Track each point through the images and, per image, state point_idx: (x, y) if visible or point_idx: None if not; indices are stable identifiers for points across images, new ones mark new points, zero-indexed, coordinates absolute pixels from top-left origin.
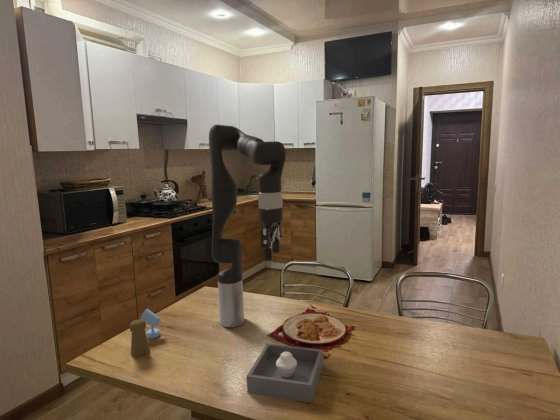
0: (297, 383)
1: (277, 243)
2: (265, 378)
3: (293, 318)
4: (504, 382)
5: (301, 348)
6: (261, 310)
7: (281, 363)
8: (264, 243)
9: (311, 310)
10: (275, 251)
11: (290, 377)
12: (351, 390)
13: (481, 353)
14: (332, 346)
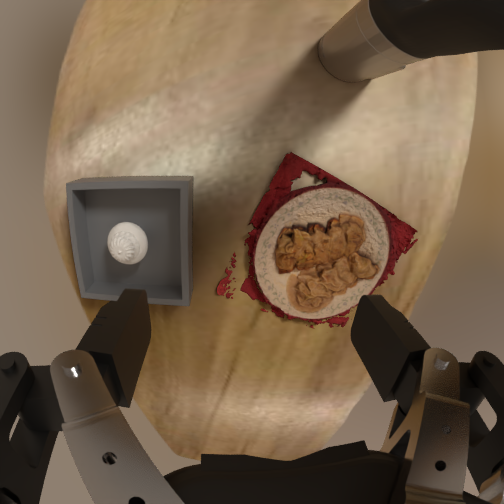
0: (77, 276)
1: (381, 381)
2: (69, 220)
3: (367, 205)
4: (214, 446)
5: (183, 265)
6: (412, 117)
7: (110, 239)
8: (60, 401)
9: (409, 238)
10: (359, 316)
11: None
12: None
13: (269, 441)
14: (261, 298)
